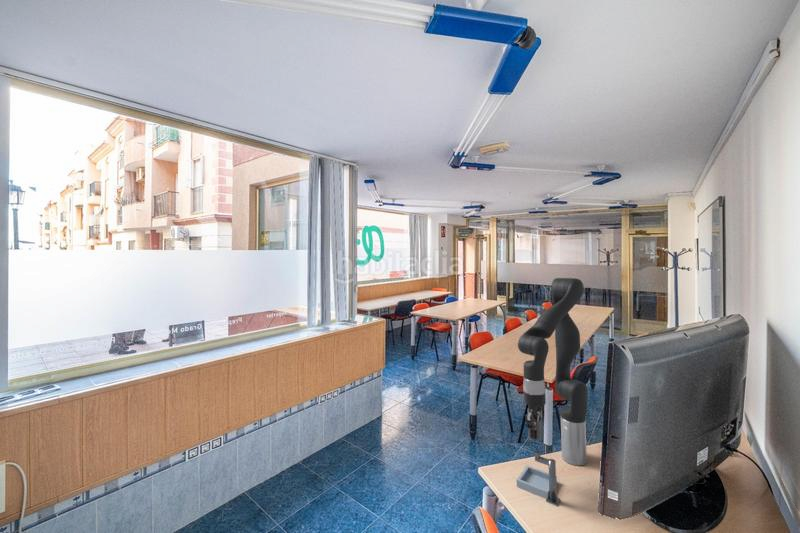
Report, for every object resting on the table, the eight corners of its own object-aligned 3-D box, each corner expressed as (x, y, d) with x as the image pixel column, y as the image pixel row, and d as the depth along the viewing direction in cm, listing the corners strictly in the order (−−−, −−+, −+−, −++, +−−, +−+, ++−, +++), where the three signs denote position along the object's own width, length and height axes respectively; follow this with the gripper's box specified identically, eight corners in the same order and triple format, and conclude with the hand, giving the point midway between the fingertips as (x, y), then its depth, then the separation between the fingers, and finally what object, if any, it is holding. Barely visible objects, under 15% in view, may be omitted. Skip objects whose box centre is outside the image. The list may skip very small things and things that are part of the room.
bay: (527, 471, 130) (526, 465, 130) (556, 482, 123) (556, 476, 123) (516, 486, 122) (516, 479, 122) (548, 499, 115) (547, 492, 115)
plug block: (531, 433, 125) (531, 410, 125) (542, 437, 123) (542, 413, 122) (528, 438, 122) (527, 414, 122) (539, 441, 120) (538, 417, 119)
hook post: (538, 491, 119) (537, 448, 119) (560, 500, 114) (558, 456, 114) (534, 496, 116) (533, 453, 116) (557, 506, 112) (555, 461, 111)
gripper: (530, 382, 130) (531, 425, 130) (516, 393, 119) (518, 441, 119) (550, 386, 125) (551, 431, 125) (538, 399, 114) (539, 448, 114)
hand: (535, 435), depth 122 cm, fingers closed on plug block, 4 cm apart
